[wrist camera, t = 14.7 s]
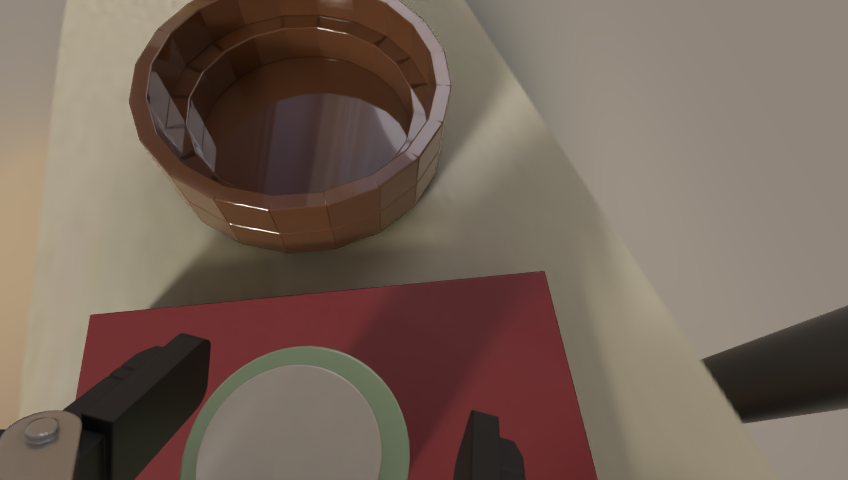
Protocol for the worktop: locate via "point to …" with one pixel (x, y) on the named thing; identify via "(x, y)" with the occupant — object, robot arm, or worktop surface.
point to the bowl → (294, 116)
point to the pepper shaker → (299, 422)
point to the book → (392, 361)
